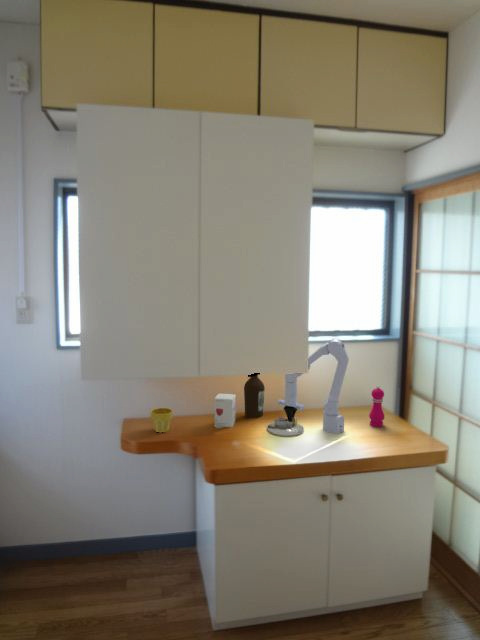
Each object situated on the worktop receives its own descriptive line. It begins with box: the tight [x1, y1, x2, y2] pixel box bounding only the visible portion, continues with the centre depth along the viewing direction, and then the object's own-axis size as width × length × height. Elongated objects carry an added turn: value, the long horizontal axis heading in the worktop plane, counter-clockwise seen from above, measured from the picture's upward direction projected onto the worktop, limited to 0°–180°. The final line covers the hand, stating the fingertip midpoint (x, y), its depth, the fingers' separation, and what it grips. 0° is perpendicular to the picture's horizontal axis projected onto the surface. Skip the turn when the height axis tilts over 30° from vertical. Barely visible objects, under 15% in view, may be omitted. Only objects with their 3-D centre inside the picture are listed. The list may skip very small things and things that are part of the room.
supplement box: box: [213, 393, 237, 429], centre depth 226 cm, size 9×9×15 cm
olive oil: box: [243, 374, 266, 419], centre depth 239 cm, size 11×11×25 cm
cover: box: [274, 417, 288, 428], centre depth 220 cm, size 6×6×4 cm
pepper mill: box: [368, 385, 385, 428], centre depth 229 cm, size 7×7×20 cm
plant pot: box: [150, 407, 174, 433], centre depth 219 cm, size 10×10×10 cm
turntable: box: [267, 416, 305, 438], centre depth 219 cm, size 17×17×4 cm
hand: (290, 421), depth 225 cm, fingers closed
